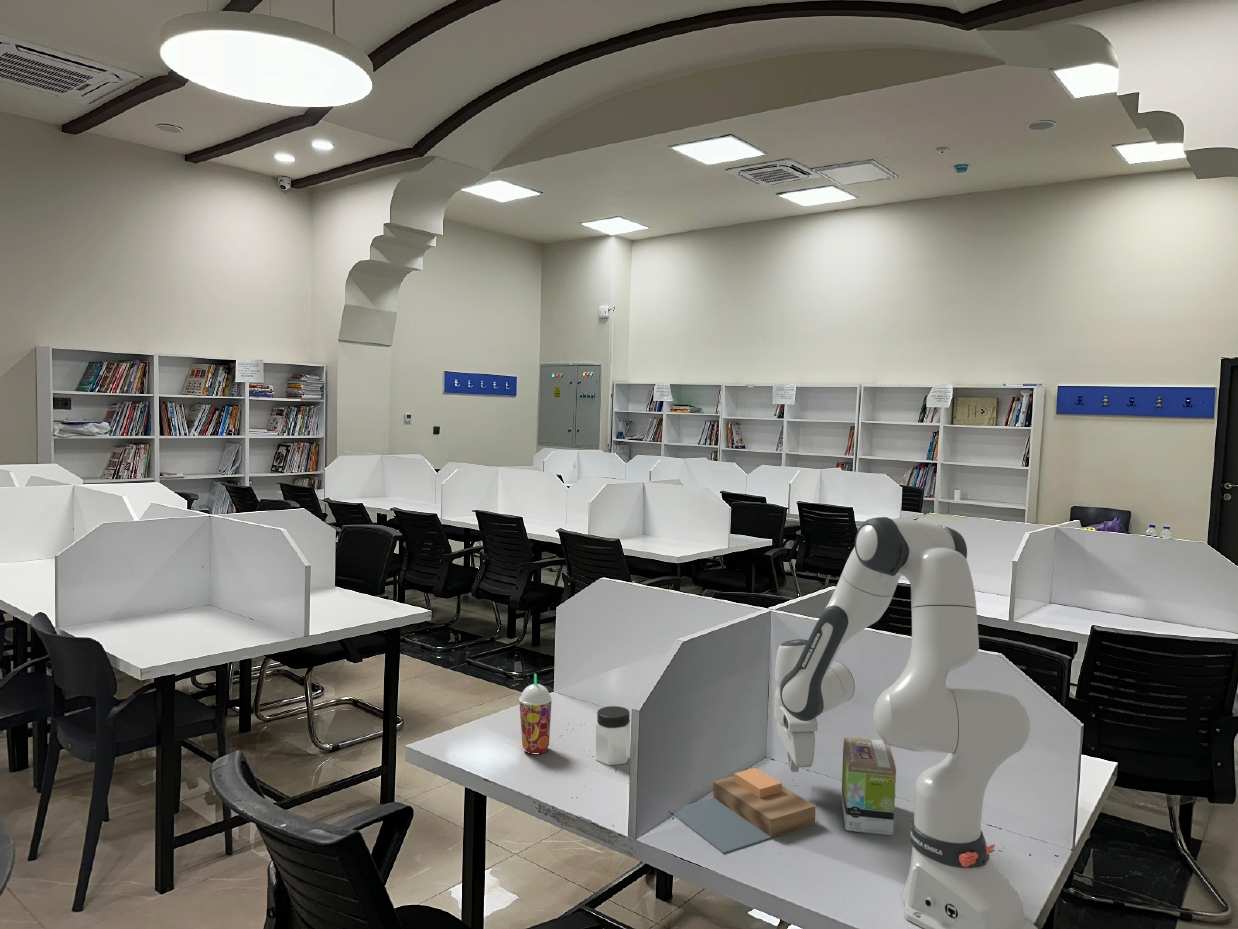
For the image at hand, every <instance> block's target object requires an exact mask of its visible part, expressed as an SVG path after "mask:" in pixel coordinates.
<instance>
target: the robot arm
mask: <svg viewBox="0 0 1238 929" xmlns="http://www.w3.org/2000/svg"><path fill="white" fill-rule="evenodd" d="M967 558H968V547H967V543H966V540H965V538H964V537H963V535H962V534H961V533H960V532H959V531H957V530H956V529H953V528H951V527H949V526H945V525H942V524H939V525H936V524H934V523H929V522H923V521H919V520H917V519H910V518H909V519H908V518H890V517H888V516H879V517H878V516H877V517H872V518H868V519H866V520H864V521H863V522H862V524H861V525H860V527H859V528H858V530H857V533H856V534H855V539H854V547H853V549H852V550H851V552H850V554H849V557H848V558H847V561H845V562H846V563H845V565H844V568H843V570H842V572H841V574H840V576H839V580H838V581H837V585H836V587H835V589H834V591H833V593H832V595H831V597H830V599H829V602H828V603H827V605H826V606H825V608H824V610H823V612H822V613H821V615H820V617H819V618H818V620H817V622H816V623H815V626H814V627H813V630H812V632H811V633H810V635H809V637H808V639H803V638H802V639H801V638H800V639H791V640H787V641H785V642H782V643H780V645H779V646H778V648H777V652H776V657H775V665H774V666H775V668H774V670H775V671H774V679H775V682H776V683H775V684H776V688H775V692H774V718H775V719H776V732H777V734H778V736H779V738H780V739H781V740H780V741H781V742H782V744H783V746H784V747H785V750H786V755H787V765H788V766H787V767H789V770H790V771H791V772H792V773H798V772H799V771H800V768H811V767H812V765H813V763H814V757H815V748H816V747H815V746H816V735H815V734H816V733H815V732H818V726H819V724H818V720H817V717H818V716H820V715H821V714H824V713H826V712H829V711H832V710H834V709H835V708H837V707H839V706H842V705H845V704H846V703H847V702H849V701H850V700H851V699H852V698H853V696H854V693H855V689H856V686H855V679H854V676H853V674H852V672H851V671H850V669H849V668H848V667H847V666H846V665H845V664H843V663H842V662H839V661H835V658H836V656H837V655H838V652H839V651H840V649H841V648H842V647H843V645H844V644H845V643H846V642H848V640H850V639H852V638H853V637H854V636H856V635H857V634H858V633H860V632H862V631H863V630H865V629H866V628H868V627H870V626H871V625H873V624H875V623H876V622H878V621H879V620H880V619H881V618H882V616H883V615H884V613H885V612H886V610H887V609H888V608H889V607H890V606H889V605H890V604H891V602H892V599H893V597H894V594H895V592H896V588H897V586H898V583H899V581H900V578H901V576H903V577H905V578H906V579H907V581H908V582H909V585H910V603H911V604H910V605H911V606H910V607H911V610H910V611H911V647H910V655H909V657H908V660H907V664H906V665H905V668H904V669H903V671H902V673H901V675H900V676H899V677H898V678H897V679H896V680H895V681H894V683H892V684H891V685H890V686H889V687H887V688H886V689H885V690H883V691H882V692H881V693H880V695H879V696H878V697H877V698H876V699H877V700H875V704H874V707H873V714H872V715H873V716H872V717H873V718H872V719H873V724H874V727H875V730H876V733H877V734H878V736H879V737H880V738H881V740H883V741H884V742H885V743H886V744H887V745H889V746H890V747H894V748H898V749H901V750H902V749H903V750H907V751H910V752H917V753H918V752H920V753H921V752H922V753H924V752H925V753H939V754H940V753H944V754H947V755H946V757H945V758H943V760H941V761H940V762H938V763H936V764H935V765H932V766H930V767H928V768H926V769H925V770H923V771H922V772H921V773H920V774H919V775H918V777H917V779H916V780H915V781H916V782H914V783H915V785H914V800H913V801H914V806H913V808H914V809H913V810H914V811H913V817H912V820H911V824H910V843H911V846H912V848H911V858H910V864H909V870H908V874H907V878H906V882H905V885H904V888H903V890H902V892H901V893H902V894H901V898H902V901H903V905H904V907H905V908H904V918H905V919H906V920H907V921H909V922H911V923H913V924H914V925H917V926H918V927H921V928H922V929H1039V928H1038V927H1037V926H1036V925H1035V924H1033V923H1032V922H1031V921H1029V920H1027V918H1025V915H1024V914H1025V913H1024V911H1025V910H1024V906H1023V902H1022V898H1021V896H1020V894H1019V893H1018V892H1017V890H1016V889H1015V888H1014V887H1013V886H1012V885H1011V882H1010V880H1009V879H1008V878H1006V877H1005V876H1004V874H1002V872H1001V871H1000V870H999V868H998V867H997V866H996V865H995V863H994V862H993V861H992V859H991V858H990V857H991V856H990V854H991V853H993V852H995V849H994V848H995V846H996V845H995V844H991V845H989V846H987V842H986V838H985V836H984V832H983V831H982V817H983V816H982V814H983V808H984V807H983V805H984V798H985V793H986V789H987V786H988V785H989V782H990V780H991V778H992V777H993V775H994V773H995V772H996V771H997V770H998V769H999V767H1000V766H1001V765H1002V764H1003V763H1004V762H1005V761H1007V759H1009V758H1011V757H1012V756H1013V755H1015V754H1017V753H1019V752H1020V751H1021V750H1023V749H1024V748H1025V746H1026V744H1027V743H1028V740H1029V737H1030V735H1031V734H1030V732H1031V723H1030V722H1031V721H1030V717H1029V714H1028V712H1027V709H1026V708H1025V707H1024V704H1022V702H1021V701H1020V700H1019V699H1018V698H1017V697H1015V696H1014V695H1011V694H1006V693H1002V692H999V691H994V690H990V689H975V688H952V687H951V688H950V687H947V684H946V683H947V682H946V681H947V678H948V675H949V673H950V672H951V671H954V670H956V669H958V668H961V667H963V666H965V665H967V664H968V663H970V662H971V661H973V660H974V659H975V658H976V656H977V654H978V653H979V649H980V642H979V641H980V640H979V639H980V638H979V625H978V614H977V613H978V612H977V610H978V609H977V600H976V593H975V586H974V583H973V578H972V573H971V570H970V565H969V562H968V560H967Z"/></svg>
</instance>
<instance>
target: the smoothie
mask: <svg viewBox="0 0 1238 929" xmlns="http://www.w3.org/2000/svg"><path fill="white" fill-rule="evenodd" d="M537 679H538V678H537V673H533V683H532V684H530V685H528V686H526V687H525V688H524V689H523V691H522V692H521V695H520V696H519V698H518V701H519V714H520V727H521V728H520V730H521V742H522V743H521V744H522V748H523V749H525V750H526V751H527V752H529V753H542V754H544V753H545V751H546V750H547V751H548V748H549V746H550V735H551V734H550V733H551V718H552V702H553V701H552V700H553V697H552V695H551V694H550V691H549V690H548V688H547V687H546V686H544V685H542V684H539V683H537V681H538V680H537ZM525 750H524V751H525ZM547 751H546V752H547Z"/></svg>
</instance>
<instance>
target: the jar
mask: <svg viewBox="0 0 1238 929" xmlns="http://www.w3.org/2000/svg"><path fill="white" fill-rule="evenodd" d="M596 715H597V716H596V720H597V722H596V723H595V760H596V761H598V762H600V763H602V764H605V765H606V766H613V765H614V766H615V765H623V764H624V765H625V764H626V763H627V762H628V761H629V760H630V758H631V756H630V721H631V720H630V710H629V709H628V708H625V707H623V706H619V705H618V706H617V705H615V706H614V705H612V706H611V705H610V706H605V707H602V708H601V707H600V708H599V709H598V710H597V712H596Z"/></svg>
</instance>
